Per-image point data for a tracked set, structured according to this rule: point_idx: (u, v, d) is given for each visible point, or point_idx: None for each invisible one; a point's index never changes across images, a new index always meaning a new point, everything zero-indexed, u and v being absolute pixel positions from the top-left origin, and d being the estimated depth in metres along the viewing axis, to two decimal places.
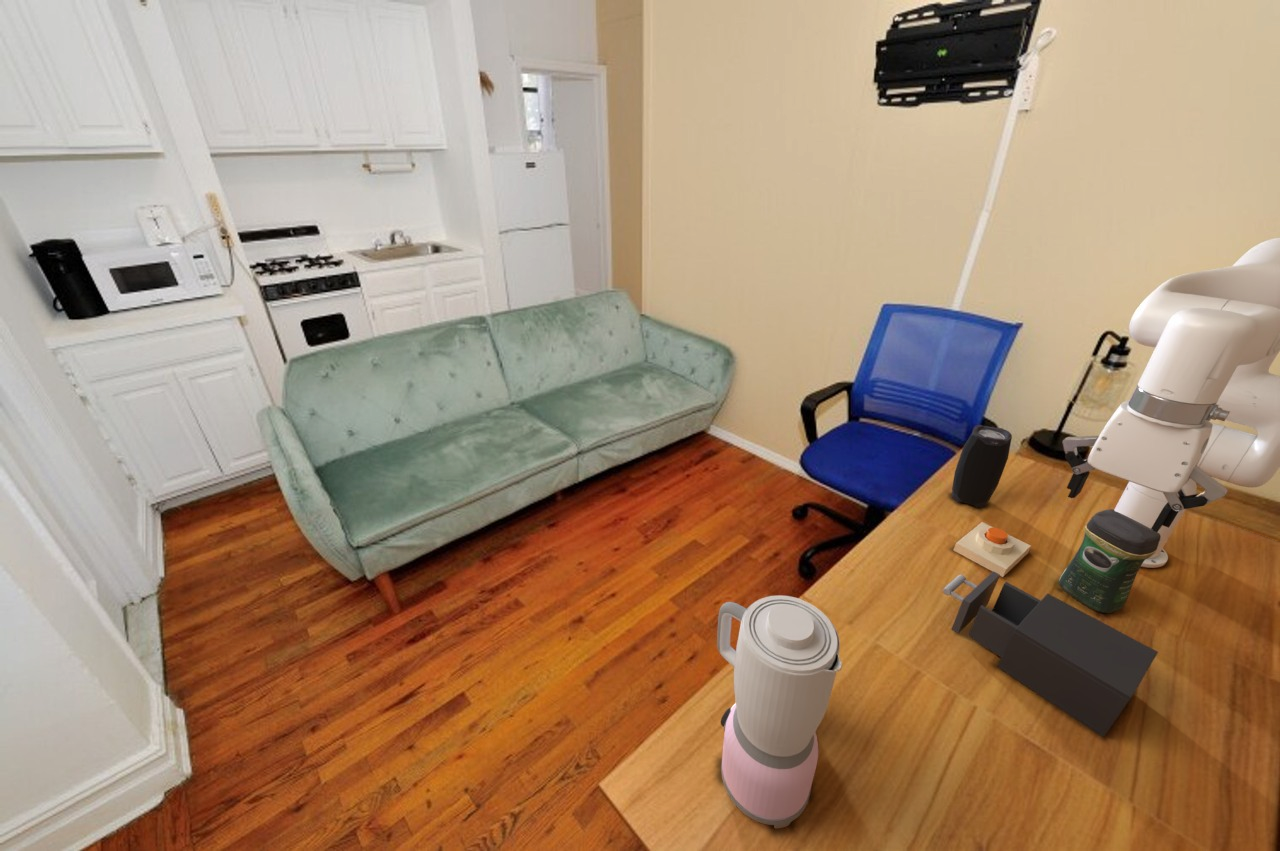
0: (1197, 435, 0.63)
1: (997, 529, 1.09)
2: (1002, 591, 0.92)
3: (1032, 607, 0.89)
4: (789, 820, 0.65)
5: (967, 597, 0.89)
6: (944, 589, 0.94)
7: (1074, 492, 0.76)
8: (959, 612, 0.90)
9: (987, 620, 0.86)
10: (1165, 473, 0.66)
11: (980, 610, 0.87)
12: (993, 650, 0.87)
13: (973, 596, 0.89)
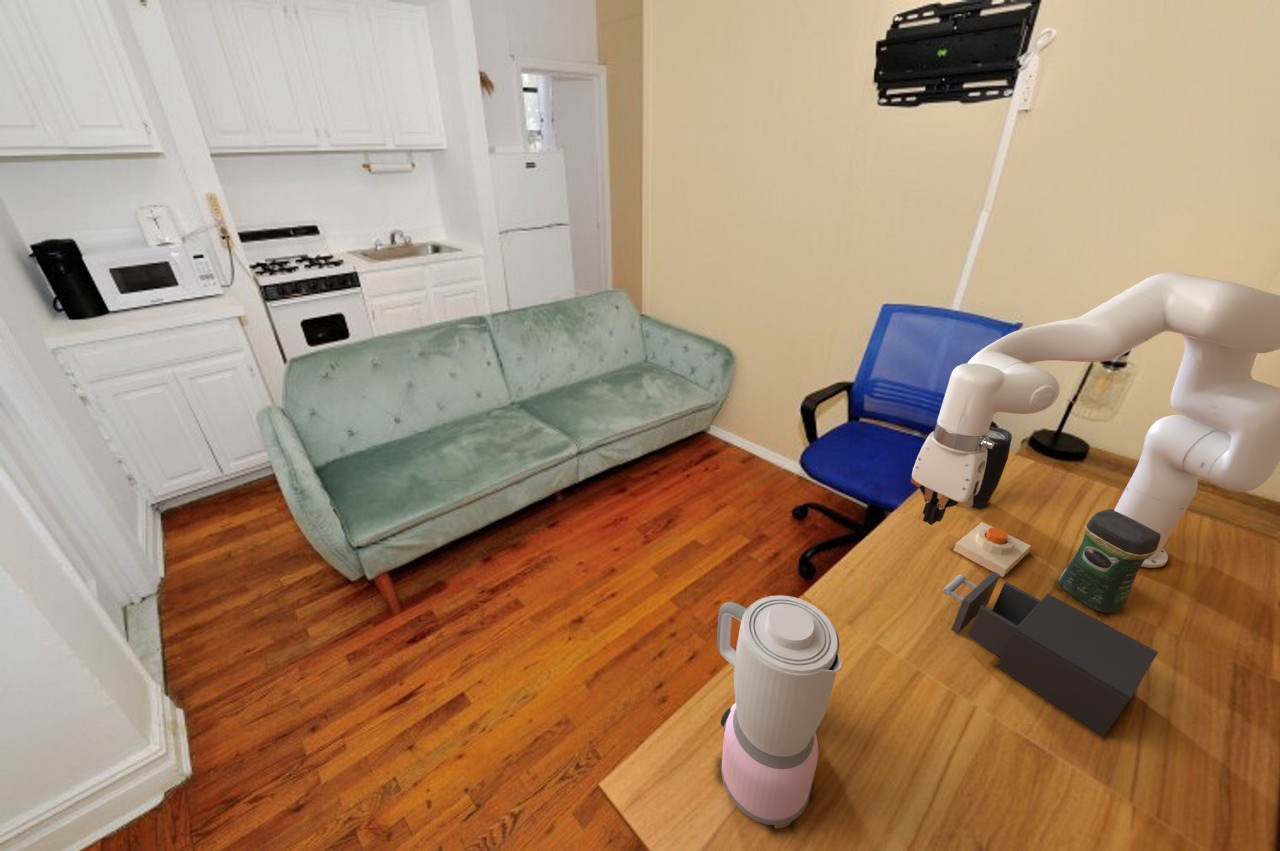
0: (973, 459, 0.83)
1: (997, 529, 1.09)
2: (1002, 591, 0.92)
3: (1032, 607, 0.89)
4: (789, 820, 0.65)
5: (967, 597, 0.89)
6: (944, 589, 0.94)
7: (926, 517, 0.94)
8: (959, 612, 0.90)
9: (987, 620, 0.86)
10: (956, 487, 0.87)
11: (980, 610, 0.87)
12: (993, 650, 0.87)
13: (973, 596, 0.89)
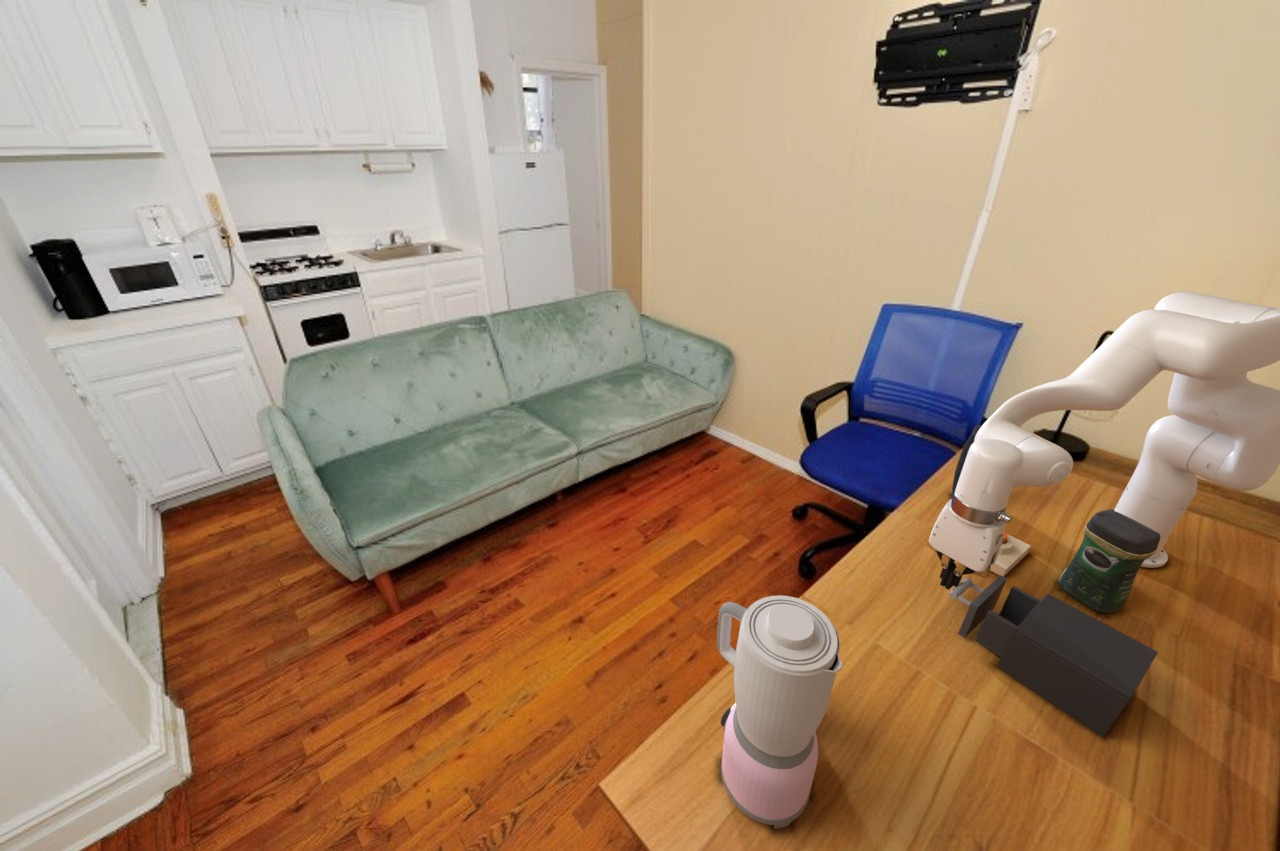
0: (991, 532, 0.85)
1: None
2: (1009, 595, 0.91)
3: None
4: (789, 820, 0.65)
5: (975, 601, 0.88)
6: (951, 593, 0.93)
7: (943, 582, 0.95)
8: (966, 616, 0.89)
9: (995, 625, 0.85)
10: (974, 558, 0.88)
11: (987, 614, 0.86)
12: (1001, 655, 0.86)
13: (980, 600, 0.88)
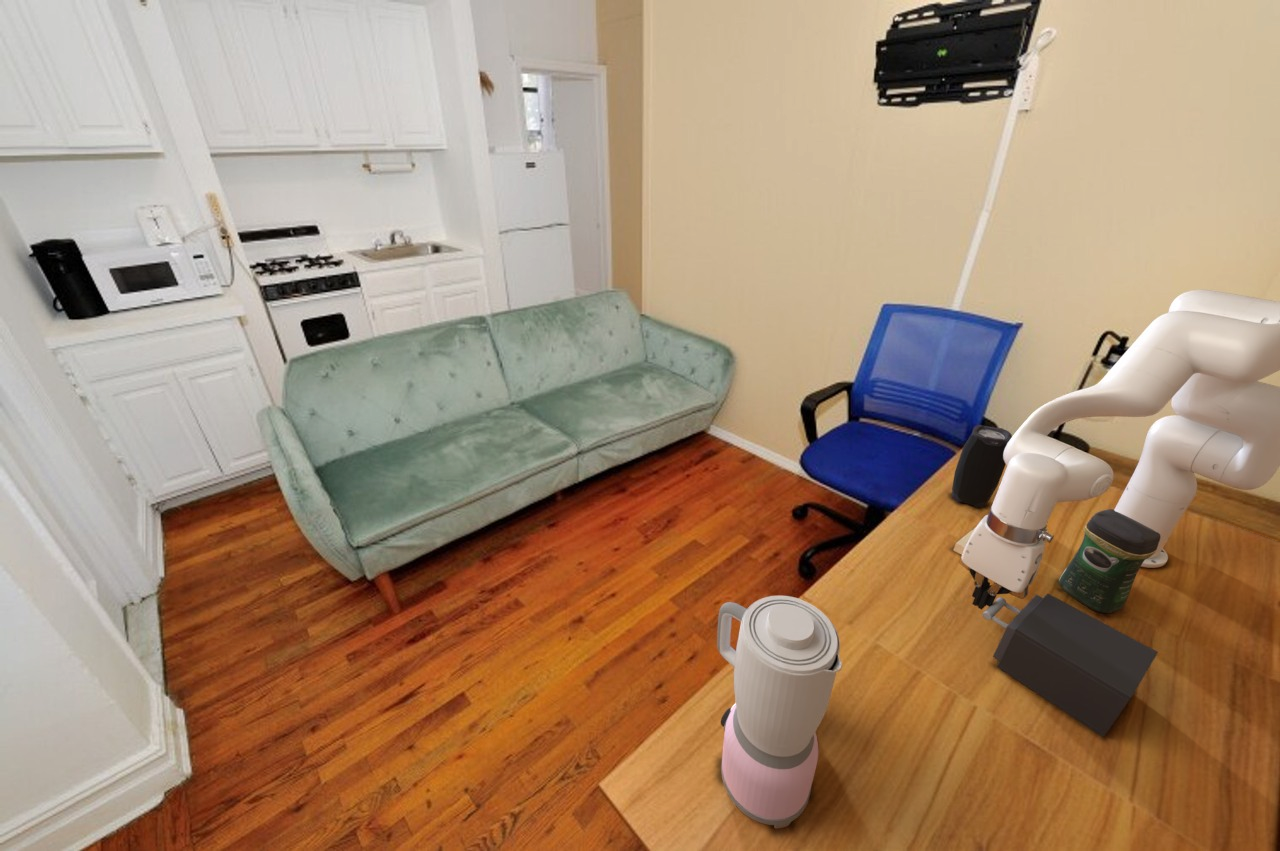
0: (1030, 552, 0.80)
1: None
2: None
3: None
4: (789, 820, 0.65)
5: (1012, 623, 0.83)
6: (984, 613, 0.89)
7: (976, 601, 0.91)
8: (1002, 639, 0.84)
9: None
10: (1011, 577, 0.84)
11: None
12: None
13: (1018, 622, 0.83)
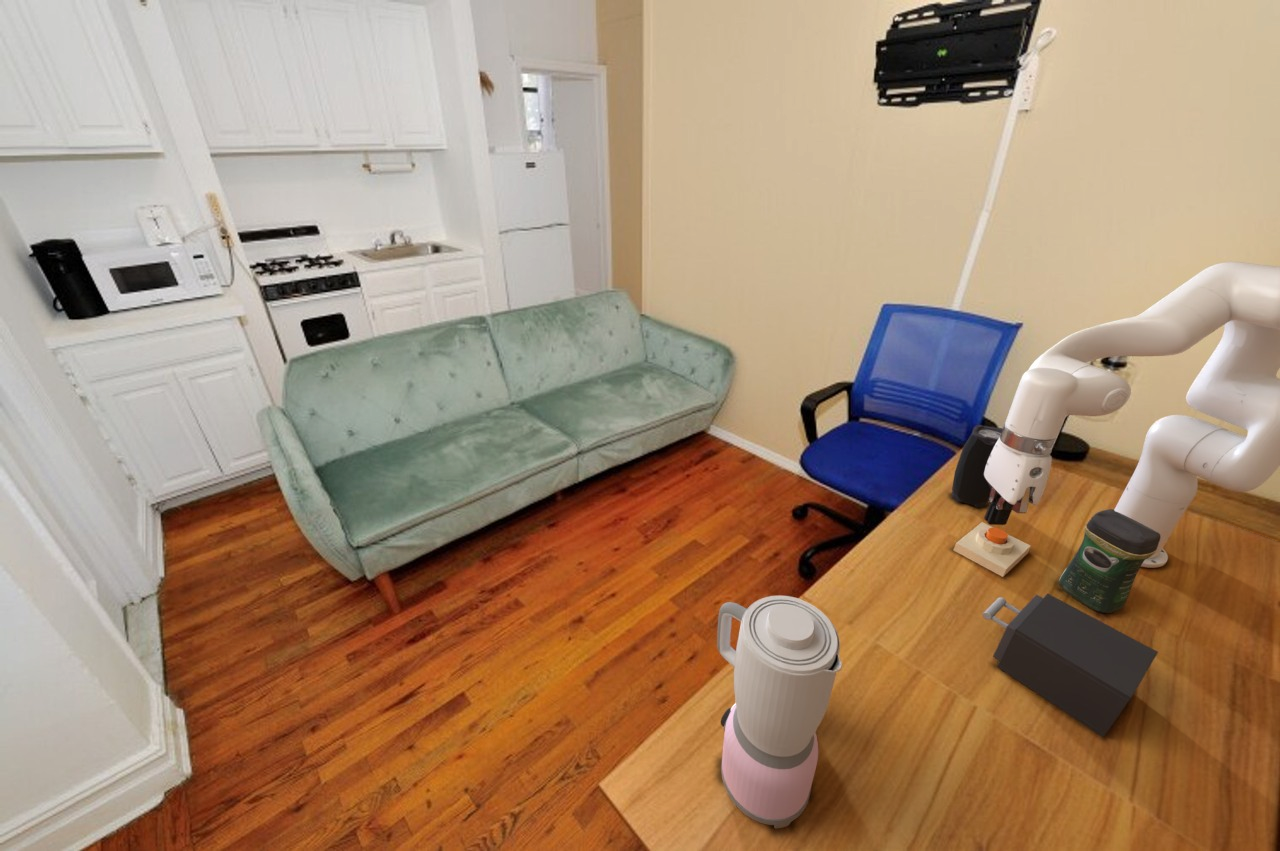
0: (1024, 460, 0.85)
1: (997, 529, 1.09)
2: None
3: None
4: (789, 820, 0.65)
5: (1012, 623, 0.83)
6: (984, 613, 0.89)
7: (987, 515, 0.96)
8: (1002, 639, 0.84)
9: None
10: (1008, 487, 0.89)
11: None
12: None
13: (1018, 622, 0.83)
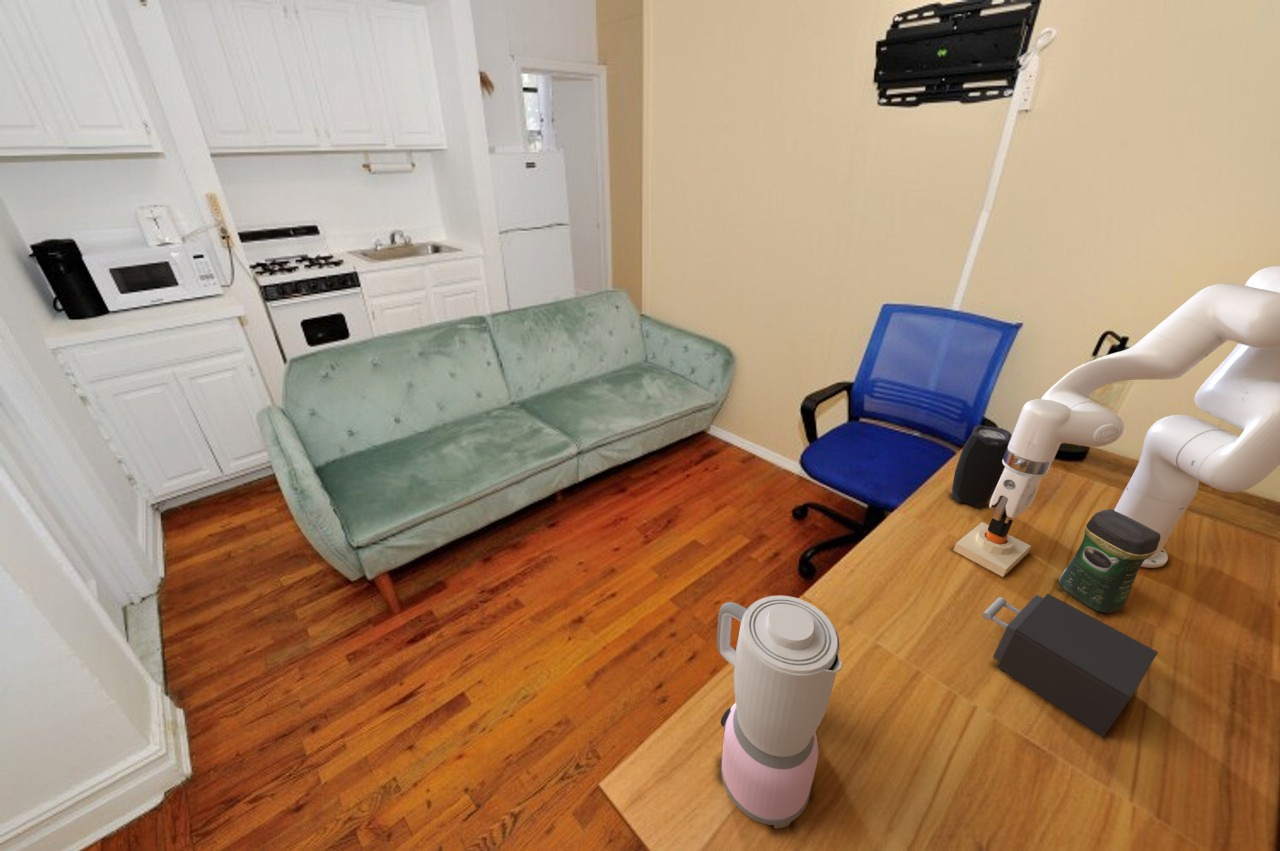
0: (1004, 471, 1.00)
1: None
2: None
3: None
4: (789, 820, 0.65)
5: (1012, 623, 0.83)
6: (984, 613, 0.89)
7: None
8: (1002, 639, 0.84)
9: None
10: None
11: None
12: None
13: (1018, 622, 0.83)
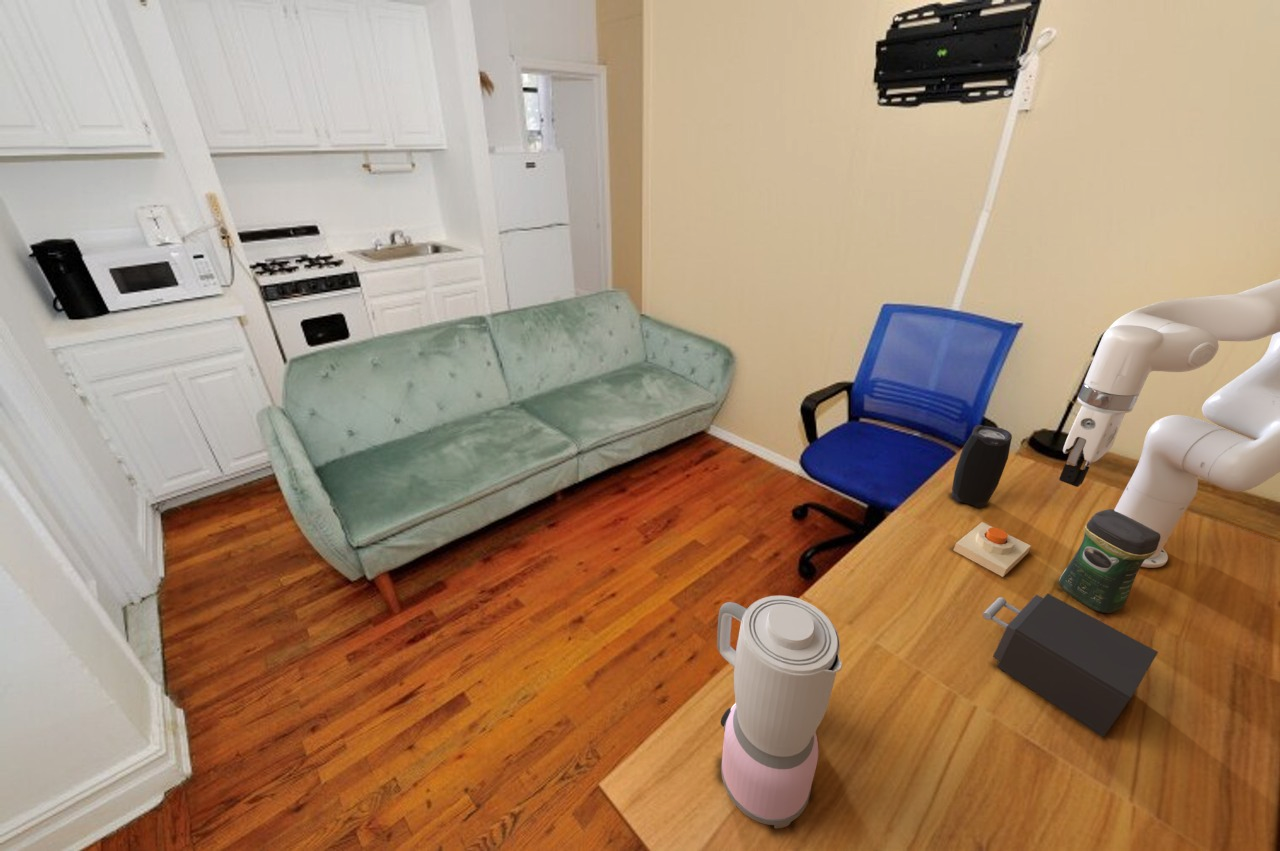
0: (1080, 409, 0.89)
1: (997, 529, 1.09)
2: None
3: None
4: (789, 820, 0.65)
5: (1012, 623, 0.83)
6: (984, 613, 0.89)
7: None
8: (1002, 639, 0.84)
9: None
10: None
11: None
12: None
13: (1018, 622, 0.83)
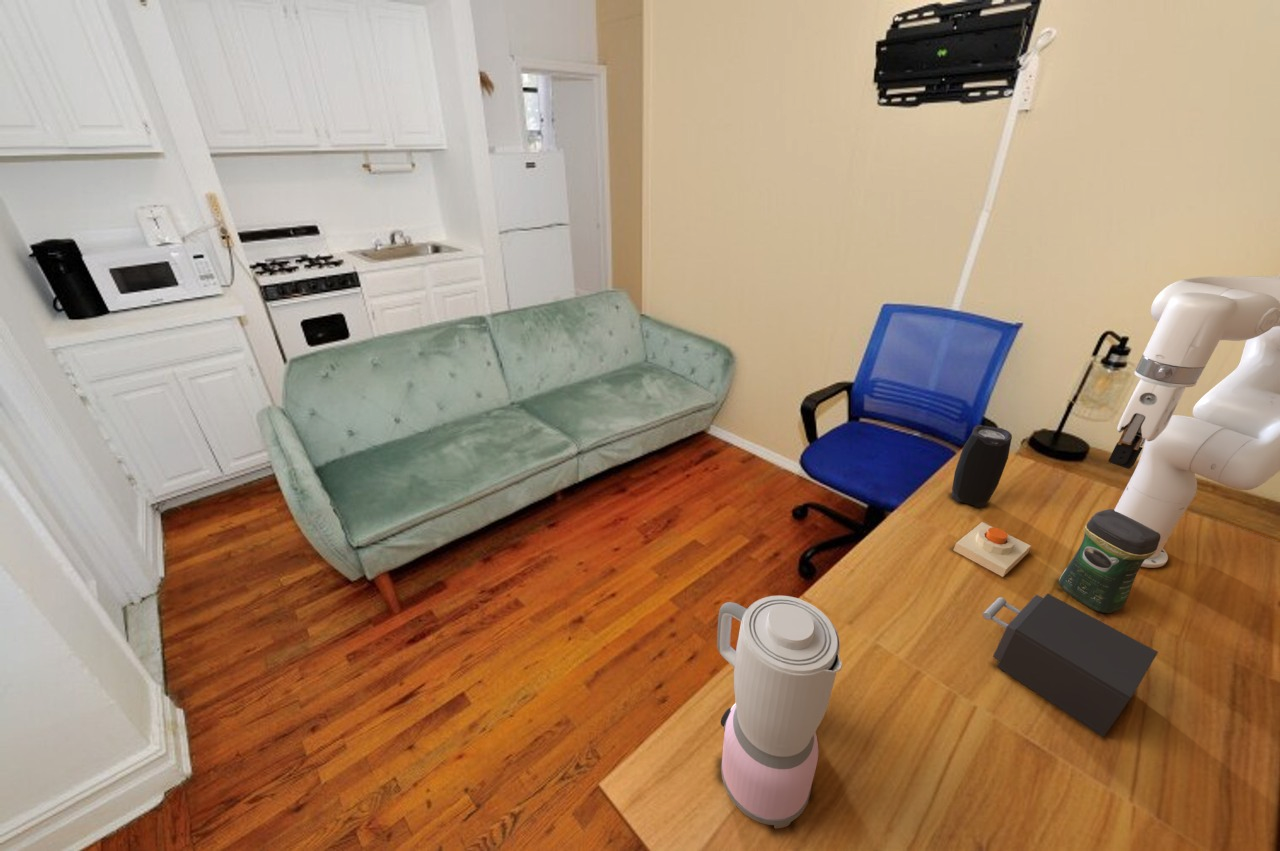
0: (1139, 384, 0.83)
1: (997, 529, 1.09)
2: None
3: None
4: (789, 820, 0.65)
5: (1012, 623, 0.83)
6: (984, 613, 0.89)
7: None
8: (1002, 639, 0.84)
9: None
10: None
11: None
12: None
13: (1018, 622, 0.83)
